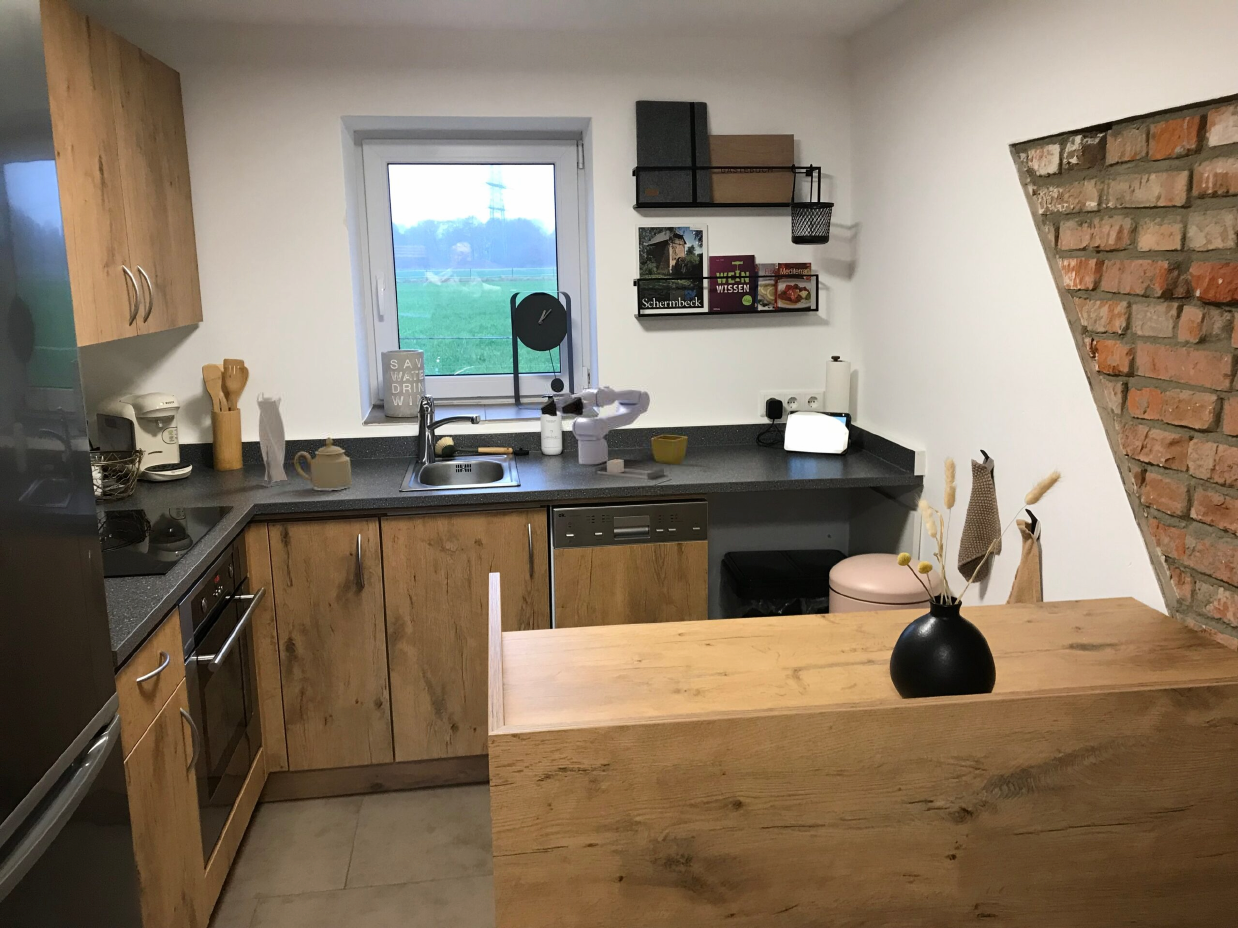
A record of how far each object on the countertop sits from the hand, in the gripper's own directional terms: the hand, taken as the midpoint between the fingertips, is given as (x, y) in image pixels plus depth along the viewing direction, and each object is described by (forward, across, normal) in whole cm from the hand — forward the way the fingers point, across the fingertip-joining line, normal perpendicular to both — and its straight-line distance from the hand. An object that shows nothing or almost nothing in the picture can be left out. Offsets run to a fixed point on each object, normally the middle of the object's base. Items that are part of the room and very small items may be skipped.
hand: (552, 410), depth 288 cm
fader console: (-7, +20, +22) cm, 31 cm away
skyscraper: (+44, -74, +13) cm, 87 cm away
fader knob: (-7, +15, +20) cm, 26 cm away
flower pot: (-31, +20, +24) cm, 44 cm away
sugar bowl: (+43, -54, +14) cm, 70 cm away
